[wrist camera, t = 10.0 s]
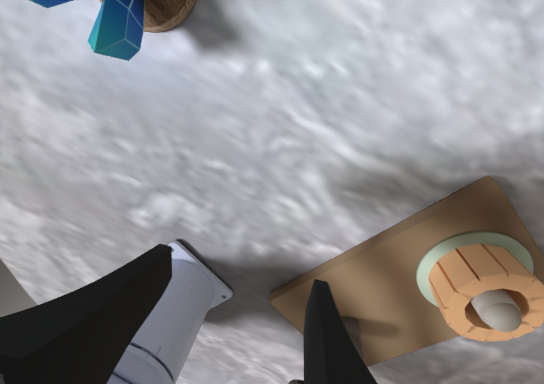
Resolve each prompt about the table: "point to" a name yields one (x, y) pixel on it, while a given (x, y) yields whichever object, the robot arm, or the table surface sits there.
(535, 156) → the table surface
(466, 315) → the ring
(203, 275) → the robot arm
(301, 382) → the black wedge
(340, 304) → the stand board
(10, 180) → the table surface
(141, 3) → the gemstone
